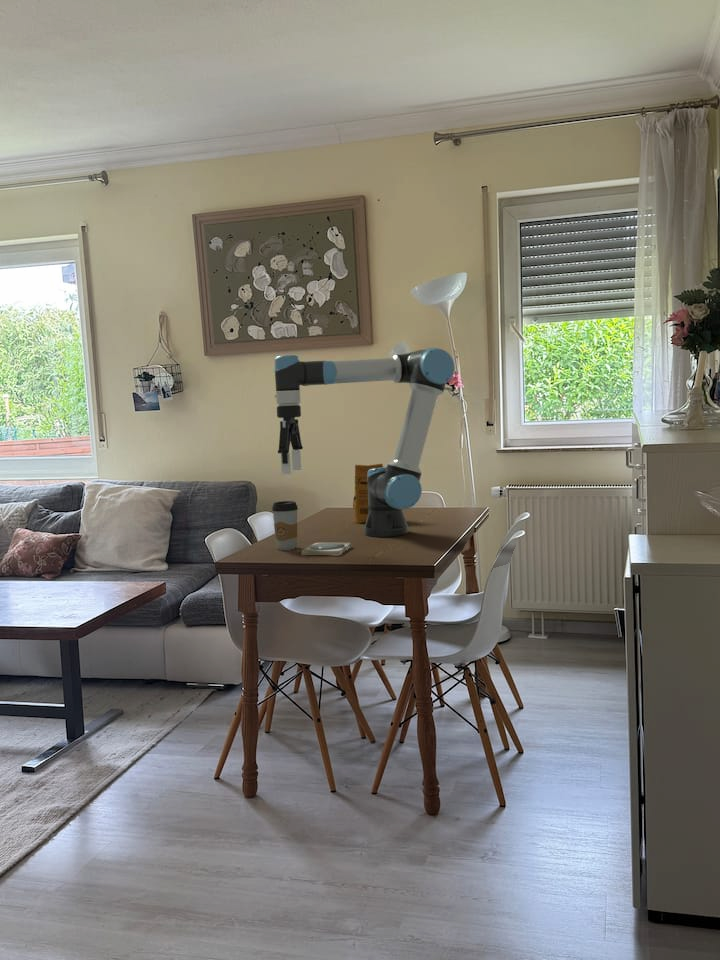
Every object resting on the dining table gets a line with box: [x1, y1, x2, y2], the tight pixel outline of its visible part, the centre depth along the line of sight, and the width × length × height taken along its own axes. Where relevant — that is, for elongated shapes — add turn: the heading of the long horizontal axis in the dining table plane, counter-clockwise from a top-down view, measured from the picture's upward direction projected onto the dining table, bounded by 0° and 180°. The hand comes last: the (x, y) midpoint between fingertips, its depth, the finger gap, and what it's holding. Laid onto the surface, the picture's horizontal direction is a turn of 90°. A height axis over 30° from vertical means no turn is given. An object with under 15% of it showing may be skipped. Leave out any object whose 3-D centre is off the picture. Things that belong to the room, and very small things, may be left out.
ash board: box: [301, 541, 353, 557], centre depth 270 cm, size 14×12×2 cm
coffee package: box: [352, 463, 384, 524], centre depth 326 cm, size 10×12×22 cm
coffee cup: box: [271, 500, 299, 551], centre depth 278 cm, size 8×8×15 cm
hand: (291, 472), depth 273 cm, fingers open, 13 cm apart
